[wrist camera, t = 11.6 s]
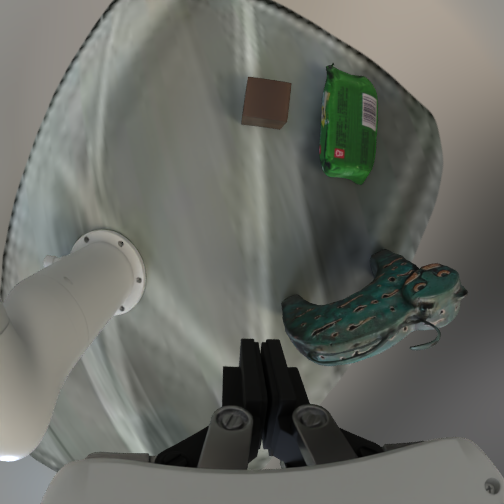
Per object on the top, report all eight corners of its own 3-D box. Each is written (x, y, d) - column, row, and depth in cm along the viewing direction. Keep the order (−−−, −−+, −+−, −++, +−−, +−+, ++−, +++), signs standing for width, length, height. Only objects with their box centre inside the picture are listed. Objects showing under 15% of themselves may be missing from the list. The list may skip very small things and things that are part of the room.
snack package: (365, 82, 33) (381, 70, 28) (360, 185, 36) (378, 186, 31) (318, 70, 32) (330, 56, 27) (311, 178, 36) (323, 177, 31)
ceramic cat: (392, 237, 39) (489, 280, 19) (401, 274, 40) (488, 331, 21) (271, 294, 39) (303, 389, 20) (287, 330, 41) (323, 430, 22)
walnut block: (241, 124, 34) (242, 115, 29) (245, 89, 33) (248, 76, 28) (279, 129, 34) (287, 122, 29) (283, 94, 33) (291, 83, 28)
